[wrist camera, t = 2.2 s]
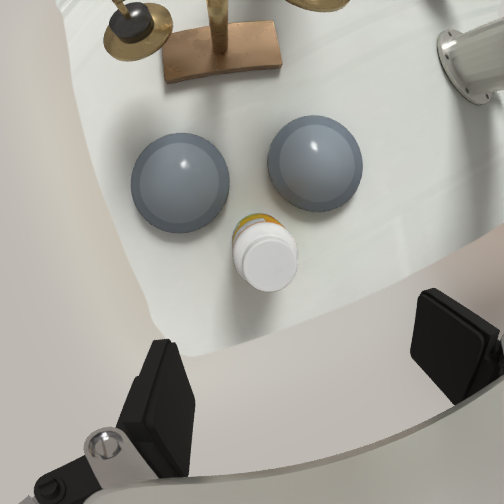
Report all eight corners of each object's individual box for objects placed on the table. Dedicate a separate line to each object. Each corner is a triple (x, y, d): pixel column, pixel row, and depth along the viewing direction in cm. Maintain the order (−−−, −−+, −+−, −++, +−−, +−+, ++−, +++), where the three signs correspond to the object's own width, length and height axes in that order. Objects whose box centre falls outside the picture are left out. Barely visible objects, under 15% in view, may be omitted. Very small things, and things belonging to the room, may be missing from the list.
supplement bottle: (291, 249, 30) (317, 282, 21) (245, 271, 30) (252, 312, 21) (271, 203, 29) (290, 217, 19) (223, 226, 29) (219, 250, 20)
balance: (303, 25, 23) (362, -74, 6) (314, 67, 25) (395, -22, 8) (132, 48, 23) (57, -38, 6) (134, 92, 24) (41, 21, 7)
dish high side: (351, 116, 27) (355, 114, 25) (362, 205, 29) (367, 206, 28) (261, 121, 26) (262, 119, 25) (274, 216, 29) (276, 218, 28)
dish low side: (221, 126, 26) (221, 124, 25) (236, 222, 29) (236, 224, 28) (128, 146, 26) (124, 145, 25) (144, 238, 29) (140, 240, 27)
